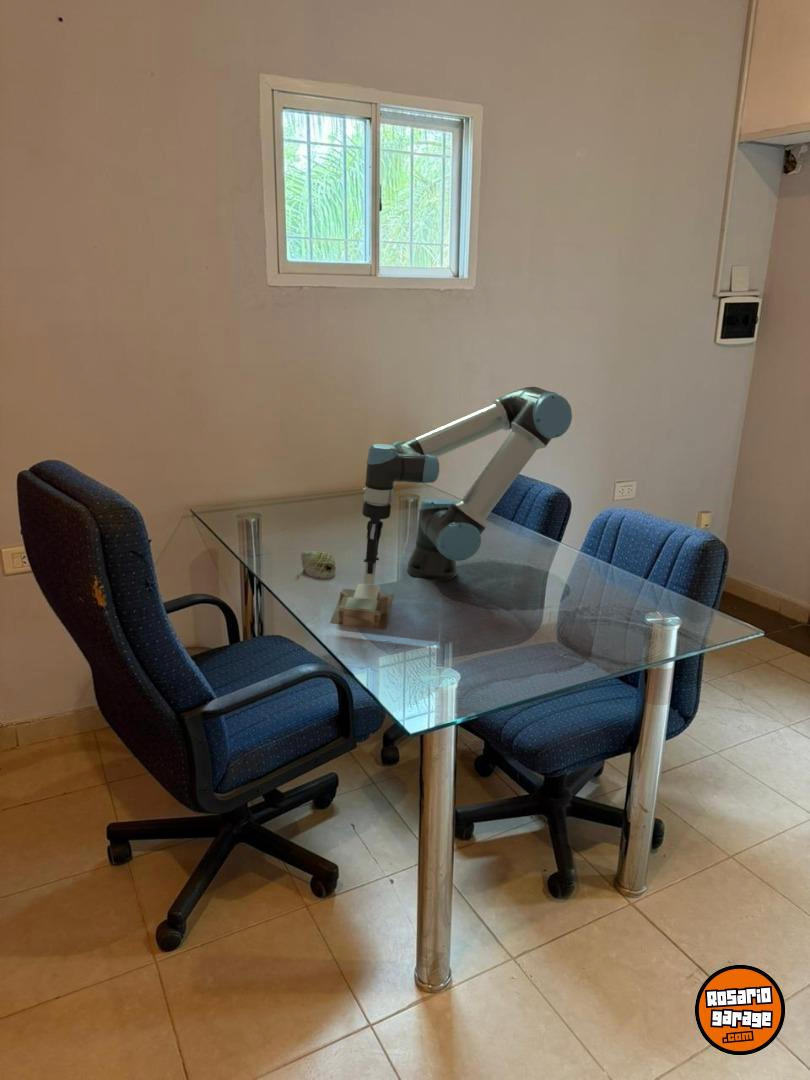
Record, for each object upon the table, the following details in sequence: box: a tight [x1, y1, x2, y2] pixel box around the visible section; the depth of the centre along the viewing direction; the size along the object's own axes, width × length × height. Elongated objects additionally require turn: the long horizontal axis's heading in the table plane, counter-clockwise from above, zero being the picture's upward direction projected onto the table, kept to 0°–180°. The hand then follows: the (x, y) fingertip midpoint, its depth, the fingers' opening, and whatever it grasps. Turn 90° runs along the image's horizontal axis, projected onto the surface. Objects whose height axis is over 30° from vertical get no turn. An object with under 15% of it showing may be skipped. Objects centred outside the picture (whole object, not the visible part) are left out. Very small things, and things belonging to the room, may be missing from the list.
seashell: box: [300, 550, 336, 580], centre depth 216 cm, size 10×10×10 cm
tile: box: [354, 583, 381, 600], centre depth 200 cm, size 6×11×2 cm, turn 177°
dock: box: [329, 588, 394, 631], centre depth 194 cm, size 14×23×6 cm, turn 177°
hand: (369, 583), depth 209 cm, fingers closed
